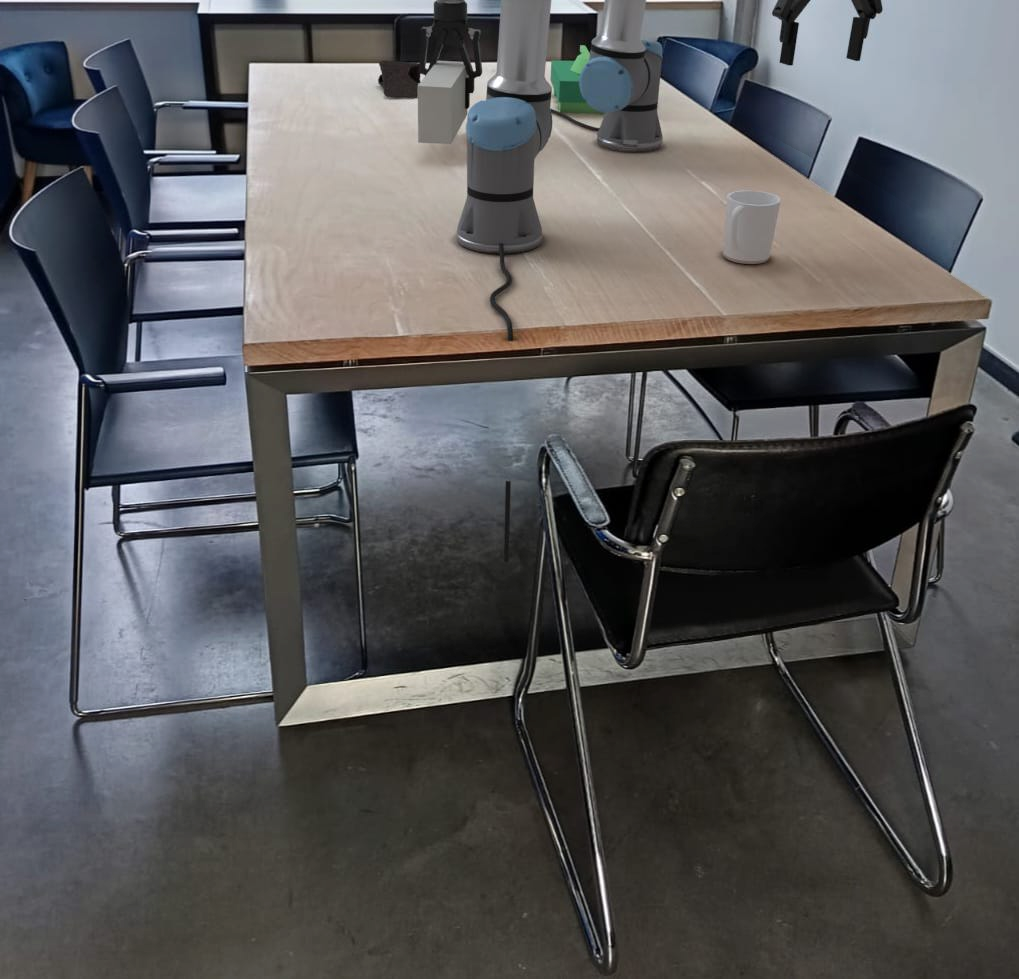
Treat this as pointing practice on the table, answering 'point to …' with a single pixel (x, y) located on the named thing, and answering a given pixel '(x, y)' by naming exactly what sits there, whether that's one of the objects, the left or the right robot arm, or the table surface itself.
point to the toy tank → (571, 84)
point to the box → (441, 103)
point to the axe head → (399, 79)
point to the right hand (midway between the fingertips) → (450, 106)
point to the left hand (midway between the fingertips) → (819, 62)
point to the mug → (750, 226)
